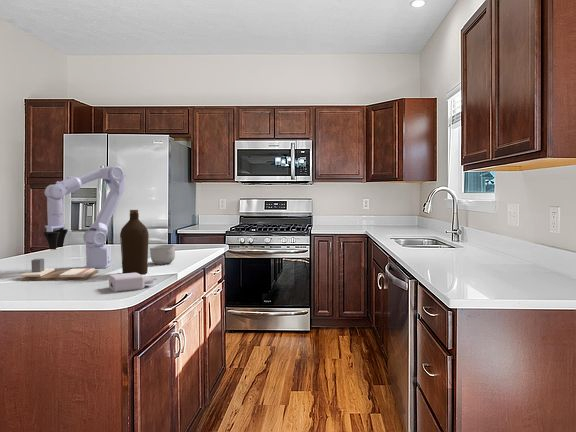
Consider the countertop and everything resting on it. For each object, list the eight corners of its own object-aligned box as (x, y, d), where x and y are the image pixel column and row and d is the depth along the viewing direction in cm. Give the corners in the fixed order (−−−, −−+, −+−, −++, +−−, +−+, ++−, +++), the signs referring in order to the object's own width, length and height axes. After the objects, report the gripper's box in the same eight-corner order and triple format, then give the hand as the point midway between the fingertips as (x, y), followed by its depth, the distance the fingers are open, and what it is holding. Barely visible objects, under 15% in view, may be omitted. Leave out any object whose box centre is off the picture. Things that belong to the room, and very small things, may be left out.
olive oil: (151, 271, 199) (151, 209, 197) (145, 275, 188) (144, 210, 187) (125, 271, 198) (124, 209, 197) (117, 276, 188) (115, 210, 186)
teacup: (171, 265, 214) (171, 247, 213) (146, 265, 214) (146, 247, 214) (179, 260, 228) (179, 243, 227) (155, 260, 228) (155, 243, 227)
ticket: (94, 270, 195) (94, 268, 195) (83, 276, 181) (83, 274, 181) (71, 270, 194) (71, 268, 194) (58, 277, 180) (58, 274, 180)
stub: (54, 270, 193) (54, 256, 193) (40, 276, 179) (40, 262, 179) (36, 270, 192) (35, 257, 192) (20, 276, 178) (19, 262, 178)
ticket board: (98, 272, 196) (98, 269, 196) (85, 279, 180) (85, 277, 180) (40, 273, 194) (40, 270, 194) (22, 280, 178) (22, 278, 178)
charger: (161, 288, 166) (115, 293, 158) (152, 283, 174) (108, 288, 166) (161, 274, 166) (115, 278, 158) (152, 270, 174) (108, 274, 166)
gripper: (51, 213, 204) (52, 246, 205) (37, 215, 189) (39, 250, 190) (69, 213, 205) (70, 245, 205) (57, 215, 190) (58, 250, 191)
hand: (56, 248), depth 198 cm, fingers open, 7 cm apart
